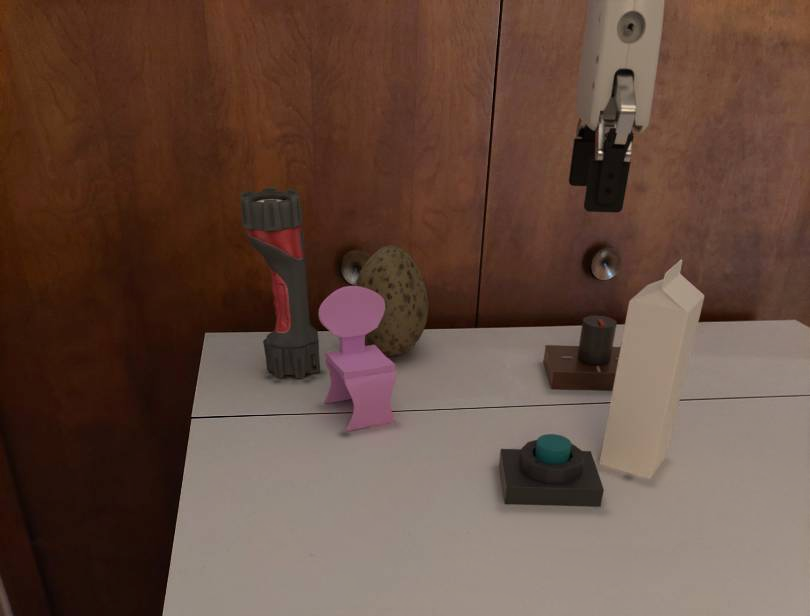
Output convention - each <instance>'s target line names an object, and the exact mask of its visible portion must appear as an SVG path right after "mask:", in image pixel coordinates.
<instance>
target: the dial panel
mask: <svg viewBox="0 0 810 616" xmlns="http://www.w3.org/2000/svg"><path fill="white" fill-rule="evenodd" d="M620 348H621V346H613V347H612V353H611V359H610V361H609V362H608V363H606V364H602V365H592V364H587V363H584V362H582V361H580V360H579V359H578V357H577V355H578V349H579V345H560V344H559V345H556V344H545V346H544V354H543V361H542V362H543V365H544V368H545V372H546V375H547V378H548V382H549V385H550V388H551V390H583V391H584V390H586V391H590V390H591V391H613V386H614V381H615V375H616V370H617V365H618V359H619V354H620Z"/></svg>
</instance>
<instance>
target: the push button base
mask: <svg viewBox="0 0 810 616" xmlns="http://www.w3.org/2000/svg"><path fill="white" fill-rule="evenodd" d="M536 443H537V439H534V440H530V441H527V442H526V443H525V444H524V445H523V446H521V448H500V452H499V462H498V468H499V475H500V481H501V482H500V483H501V487H502V495H503V501H504V505H514V506H515V505H517V506H518V505H520V506H552V507H553V506H554V507H555V506H556V507H592V508H593V507H594V508H601V506H602V501H603V496H604V490H605V489H604V486H603V483H602V479H601V477H600V474H599V472H598V471H599V470H598V468H597V465H596V462H595V460H594V457H593V456H594V455H593V453H592V451H591V450H582V449H580V448H579V447H578V446H576V445H575V444H574V443H571V451H570V457H569V460H568V461H567V462H564V463H561V464H551V463H546V462H543V461H540V460H538V459H537V458H536V457H535V451H536Z"/></svg>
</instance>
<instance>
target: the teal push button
mask: <svg viewBox="0 0 810 616" xmlns="http://www.w3.org/2000/svg"><path fill="white" fill-rule="evenodd" d="M536 440H537V443H536V451H535V457H536V458H537V459H538V460H540V461H543V462H546V463H551V464H561V463H564V462H567V461H568V460H569V457H570V451H571V444H572V441H571V440H570V439H569V438H568V437H566V436H564V435H561V434H556V433H547V434H542V435H540V436H539V437H537V439H536Z"/></svg>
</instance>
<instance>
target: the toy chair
mask: <svg viewBox="0 0 810 616" xmlns="http://www.w3.org/2000/svg"><path fill="white" fill-rule="evenodd" d="M384 311H385V301H384V299H383V298H382V296H380V295H379V294H378V293H376V292H374V291H372V290H370V289H367V288H364V287H359V286H355V285H347V286H343V287H340V288H338V289H336V290H334V291H333V292H332V293H330V294H329V295H328V296H327V297H326V298H325V299H324V300H322V303H321V304H320V306H319V308H318V313H317V315H318V320H319V322H320V324H321V325H322V326H323V327H324V328H325V329H326V330H328V331H329V332H330V333H331V335H333V336H336V337H338V338H339V339H338V340H339V350H332V351H325V359H324V362H325V366H326V368H327V370H328V373H329V376H330V384H329V388H328V391H327V393H326V396H325V397H324V400H323V403H324V404H330V403H337V402H342V401H347V400H351V401H352V405H353V409H352V415H351V417H350V420H349V422H348V424H347V426H346V429H345V431H346V432H350V431H351V432H352V431H356V430H361V429H366V428H370V427H375V426H381V425H385V424H390V423H391V424H392V423H395V422H396V420H395V418H394V414H393V412H392V404H391V403H392V402H391V400H392V395H393V390H394V387H395V385H396V384H395V383H396V381H397V374H396V364H395V363H394V361H392V360H391V359H390V358H388V356H385V355H384V354H383V353H382V352H381V351H380V350H379V349H378V348H377V347H376V346H375V345H370V346H365V335H366V334H368V333H369V332H371V331H373V330H374V329H376V328H377V327H378V325H379V323H380V321H381V319H382V317H383V314H384Z"/></svg>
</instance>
